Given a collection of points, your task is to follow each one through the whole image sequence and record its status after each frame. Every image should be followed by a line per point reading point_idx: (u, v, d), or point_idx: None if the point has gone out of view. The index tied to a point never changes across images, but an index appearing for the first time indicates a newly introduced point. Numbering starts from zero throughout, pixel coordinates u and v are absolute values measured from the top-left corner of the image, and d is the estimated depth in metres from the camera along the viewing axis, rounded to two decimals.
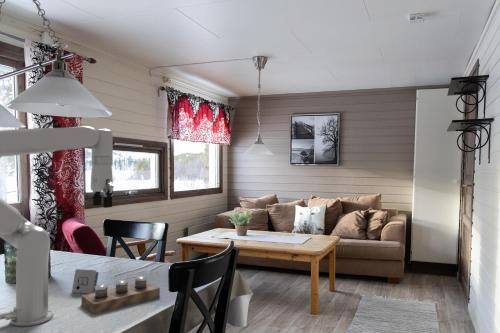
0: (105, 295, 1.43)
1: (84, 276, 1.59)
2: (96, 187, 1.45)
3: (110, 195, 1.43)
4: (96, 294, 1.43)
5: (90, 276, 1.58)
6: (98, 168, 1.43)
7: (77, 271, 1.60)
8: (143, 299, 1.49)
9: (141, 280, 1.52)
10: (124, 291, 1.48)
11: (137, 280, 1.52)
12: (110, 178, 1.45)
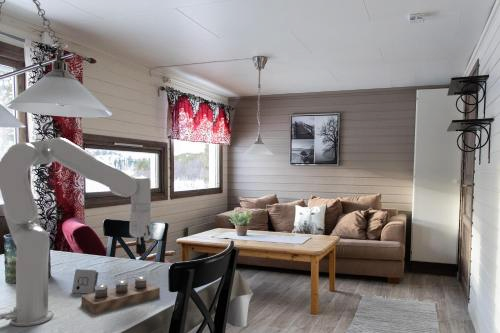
0: (105, 295, 1.43)
1: (84, 276, 1.59)
2: (136, 233, 1.51)
3: None
4: (96, 294, 1.43)
5: (90, 276, 1.58)
6: (138, 215, 1.50)
7: (77, 271, 1.60)
8: (143, 299, 1.49)
9: (141, 280, 1.52)
10: (124, 291, 1.48)
11: (137, 280, 1.52)
12: (149, 224, 1.51)
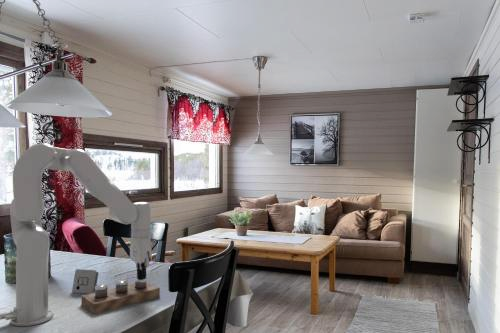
0: (105, 295, 1.43)
1: (84, 276, 1.59)
2: (136, 259, 1.52)
3: None
4: (96, 294, 1.43)
5: (90, 276, 1.58)
6: (139, 241, 1.50)
7: (77, 271, 1.60)
8: (143, 299, 1.49)
9: (141, 282, 1.52)
10: (124, 291, 1.48)
11: (137, 282, 1.52)
12: (149, 250, 1.52)
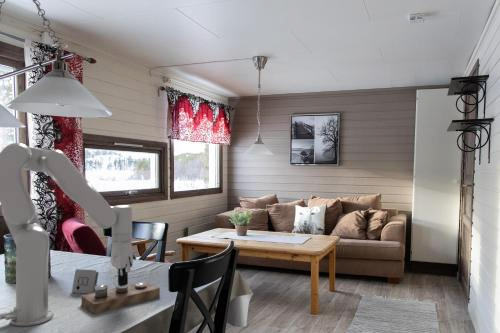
0: (105, 295, 1.43)
1: (84, 276, 1.59)
2: (117, 264, 1.46)
3: None
4: (96, 294, 1.43)
5: (90, 276, 1.58)
6: (119, 246, 1.45)
7: (77, 271, 1.60)
8: (143, 299, 1.49)
9: (141, 286, 1.52)
10: None
11: (137, 286, 1.52)
12: (130, 255, 1.46)
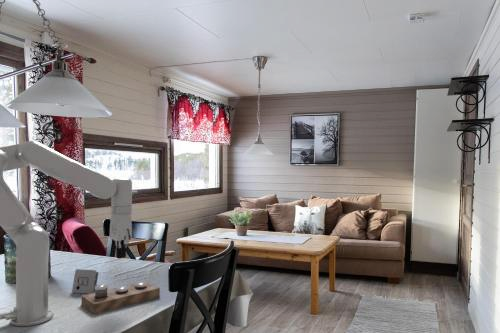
0: (105, 295, 1.43)
1: (84, 276, 1.59)
2: (115, 236, 1.46)
3: None
4: (96, 294, 1.43)
5: (90, 276, 1.58)
6: (118, 218, 1.45)
7: (77, 271, 1.60)
8: (143, 299, 1.49)
9: (141, 286, 1.52)
10: None
11: (137, 286, 1.52)
12: (129, 227, 1.46)
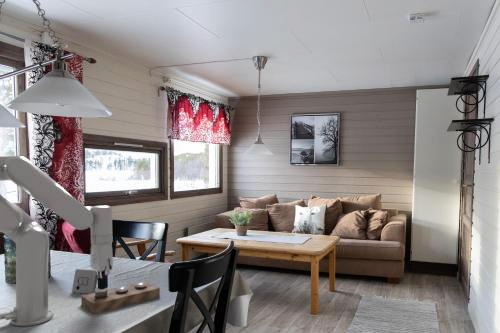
0: (105, 297, 1.43)
1: (84, 276, 1.59)
2: (96, 267, 1.41)
3: None
4: (96, 296, 1.43)
5: (90, 276, 1.58)
6: (98, 248, 1.39)
7: (77, 271, 1.60)
8: (143, 299, 1.49)
9: (141, 286, 1.52)
10: None
11: (137, 286, 1.52)
12: (110, 257, 1.41)
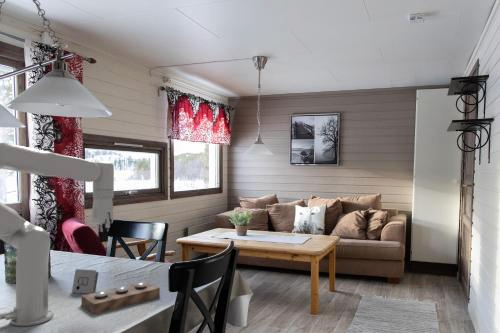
0: None
1: (84, 276, 1.59)
2: (97, 220, 1.45)
3: None
4: None
5: (90, 276, 1.58)
6: (99, 201, 1.44)
7: (77, 271, 1.60)
8: (143, 299, 1.49)
9: (141, 286, 1.52)
10: None
11: (137, 286, 1.52)
12: (110, 211, 1.45)
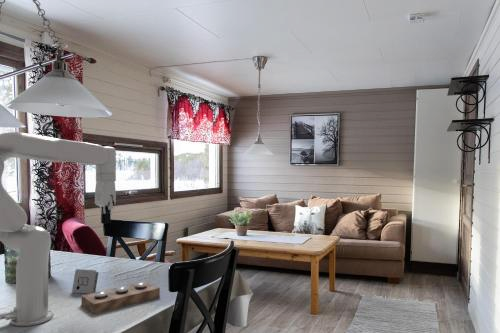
0: None
1: (84, 276, 1.59)
2: (100, 202, 1.52)
3: None
4: None
5: (90, 276, 1.58)
6: (102, 184, 1.51)
7: (77, 271, 1.60)
8: (143, 299, 1.49)
9: (141, 286, 1.52)
10: None
11: (137, 286, 1.52)
12: (113, 194, 1.52)
